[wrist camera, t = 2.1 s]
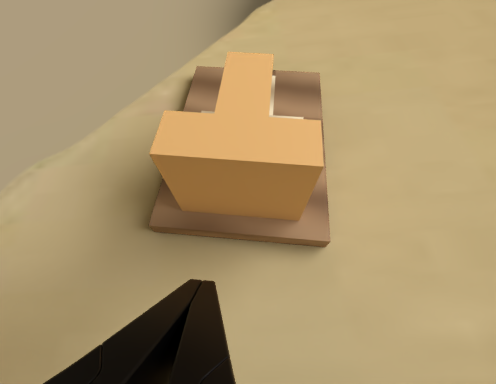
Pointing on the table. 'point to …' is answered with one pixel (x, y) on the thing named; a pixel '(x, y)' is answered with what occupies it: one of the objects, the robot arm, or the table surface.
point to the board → (243, 227)
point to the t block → (240, 149)
